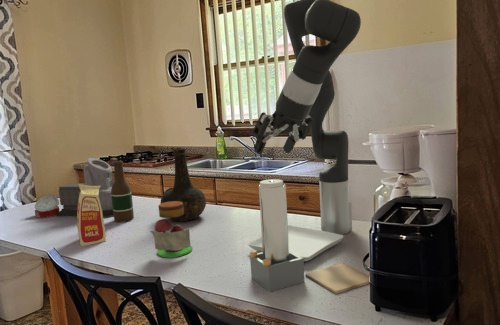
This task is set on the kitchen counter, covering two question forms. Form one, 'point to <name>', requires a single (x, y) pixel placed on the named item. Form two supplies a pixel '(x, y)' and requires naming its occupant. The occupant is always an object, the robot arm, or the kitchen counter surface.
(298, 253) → the salad plate
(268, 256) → the white tall cylinder
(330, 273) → the mat
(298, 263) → the box
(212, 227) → the kitchen counter surface
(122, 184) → the beer bottle
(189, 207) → the glass bottle
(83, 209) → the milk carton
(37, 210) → the red white domed cylinder
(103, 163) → the juicer
